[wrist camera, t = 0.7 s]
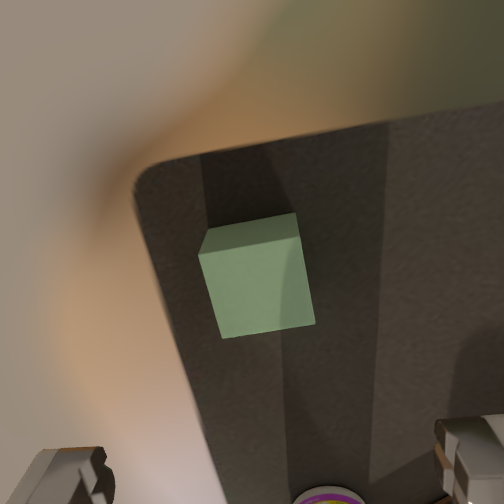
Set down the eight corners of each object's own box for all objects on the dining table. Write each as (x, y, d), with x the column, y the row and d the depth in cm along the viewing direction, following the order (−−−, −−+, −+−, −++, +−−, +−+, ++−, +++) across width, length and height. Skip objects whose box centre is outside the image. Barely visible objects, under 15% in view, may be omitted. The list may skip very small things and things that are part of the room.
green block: (208, 228, 26) (197, 254, 22) (295, 212, 25) (299, 235, 21) (228, 304, 28) (221, 339, 24) (309, 290, 27) (315, 324, 24)
